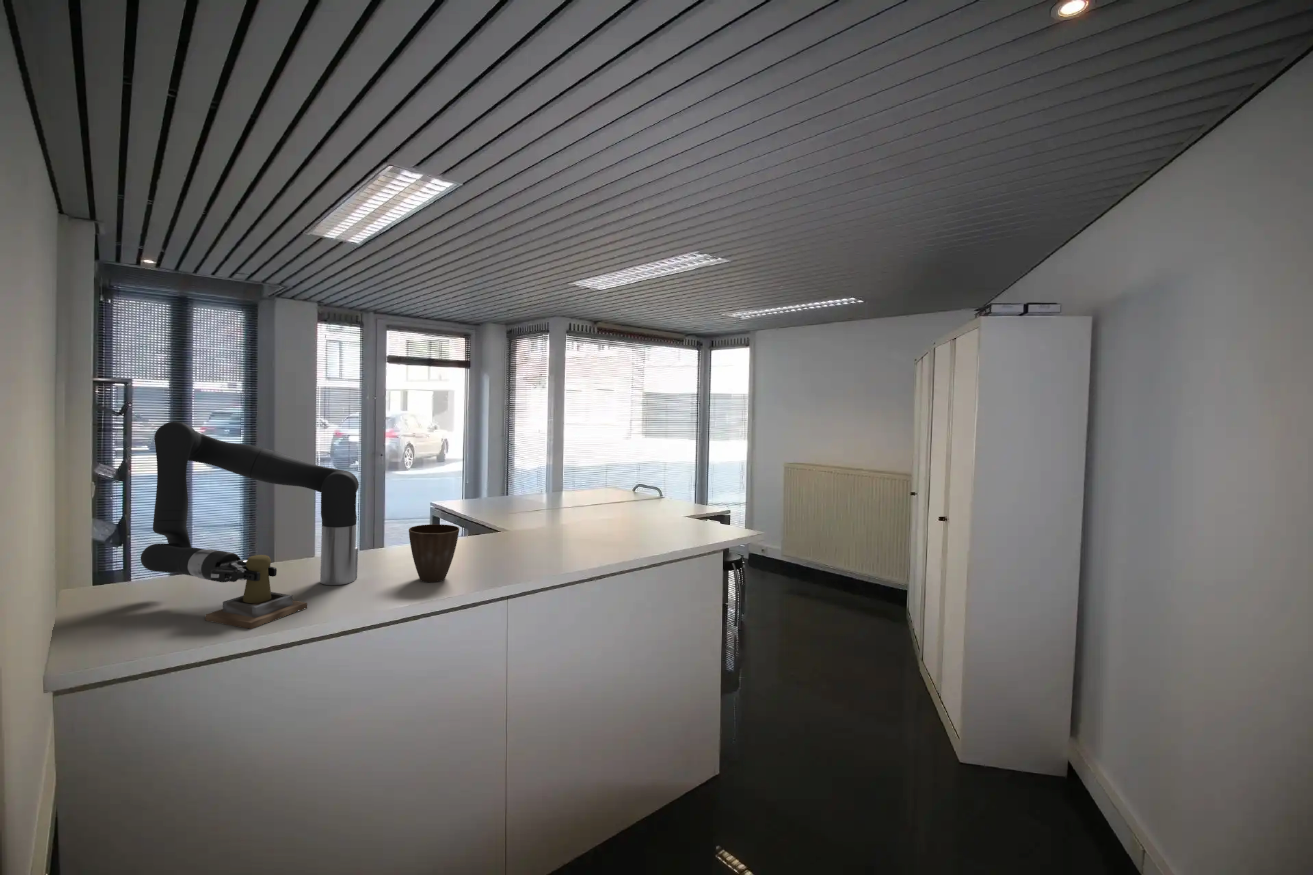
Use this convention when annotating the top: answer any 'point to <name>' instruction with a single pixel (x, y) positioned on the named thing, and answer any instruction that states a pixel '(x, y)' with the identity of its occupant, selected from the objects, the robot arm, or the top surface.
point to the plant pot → (433, 550)
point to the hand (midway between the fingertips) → (266, 574)
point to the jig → (255, 611)
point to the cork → (261, 588)
